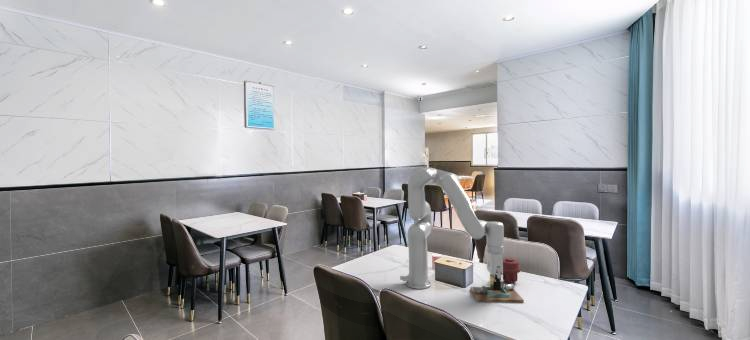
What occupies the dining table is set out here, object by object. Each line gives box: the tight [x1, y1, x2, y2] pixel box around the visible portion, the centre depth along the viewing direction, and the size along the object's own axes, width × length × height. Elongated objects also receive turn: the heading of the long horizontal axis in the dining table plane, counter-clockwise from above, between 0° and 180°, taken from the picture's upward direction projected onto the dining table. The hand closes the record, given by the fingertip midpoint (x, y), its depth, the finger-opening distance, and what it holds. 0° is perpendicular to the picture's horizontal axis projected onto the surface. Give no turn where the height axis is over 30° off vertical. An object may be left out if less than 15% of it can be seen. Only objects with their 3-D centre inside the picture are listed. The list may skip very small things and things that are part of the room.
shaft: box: [501, 283, 515, 292], centre depth 152 cm, size 5×4×4 cm
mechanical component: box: [502, 257, 522, 285], centre depth 165 cm, size 12×10×10 cm
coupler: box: [489, 274, 500, 291], centre depth 149 cm, size 5×5×6 cm
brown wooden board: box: [470, 285, 525, 304], centre depth 149 cm, size 20×14×4 cm
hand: (495, 287), depth 149 cm, fingers closed on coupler, 4 cm apart
